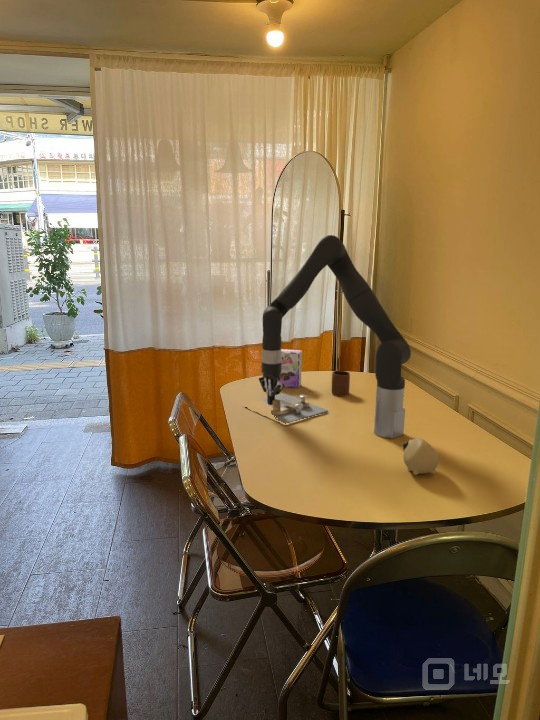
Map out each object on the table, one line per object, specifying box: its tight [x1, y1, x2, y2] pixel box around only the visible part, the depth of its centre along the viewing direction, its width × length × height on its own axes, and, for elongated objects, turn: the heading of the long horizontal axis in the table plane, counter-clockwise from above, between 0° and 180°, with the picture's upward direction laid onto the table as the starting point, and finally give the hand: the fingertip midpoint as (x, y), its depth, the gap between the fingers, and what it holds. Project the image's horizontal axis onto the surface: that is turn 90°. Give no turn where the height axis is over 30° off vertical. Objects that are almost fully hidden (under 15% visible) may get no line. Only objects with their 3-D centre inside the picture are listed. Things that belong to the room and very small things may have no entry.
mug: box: [331, 369, 351, 397], centre depth 218 cm, size 12×8×9 cm, turn 6°
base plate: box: [260, 393, 329, 424], centre depth 197 cm, size 26×22×1 cm
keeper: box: [281, 394, 308, 415], centre depth 194 cm, size 10×10×4 cm
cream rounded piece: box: [402, 437, 440, 476], centre depth 146 cm, size 10×12×11 cm
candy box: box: [279, 348, 303, 389], centre depth 226 cm, size 14×6×16 cm, turn 73°
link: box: [271, 399, 310, 416], centre depth 193 cm, size 18×5×6 cm, turn 131°
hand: (270, 404), depth 191 cm, fingers closed
